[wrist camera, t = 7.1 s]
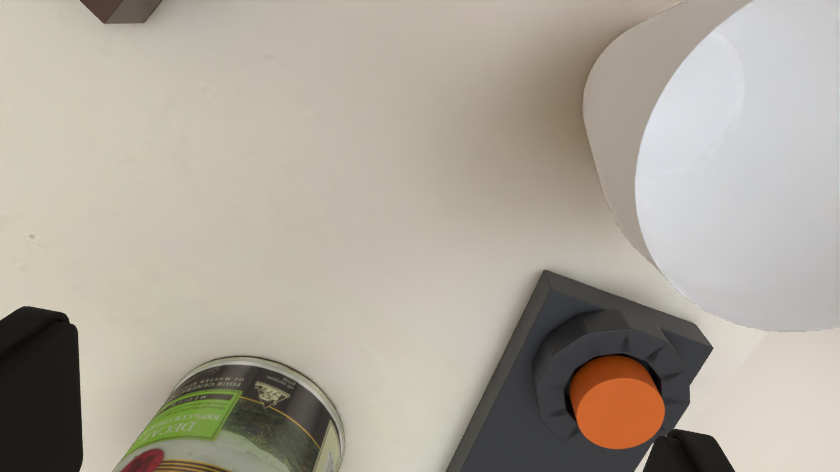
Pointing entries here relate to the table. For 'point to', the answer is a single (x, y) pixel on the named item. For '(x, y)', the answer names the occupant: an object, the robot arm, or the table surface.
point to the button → (616, 402)
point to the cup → (728, 154)
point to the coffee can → (240, 423)
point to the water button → (554, 370)
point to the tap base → (121, 10)
